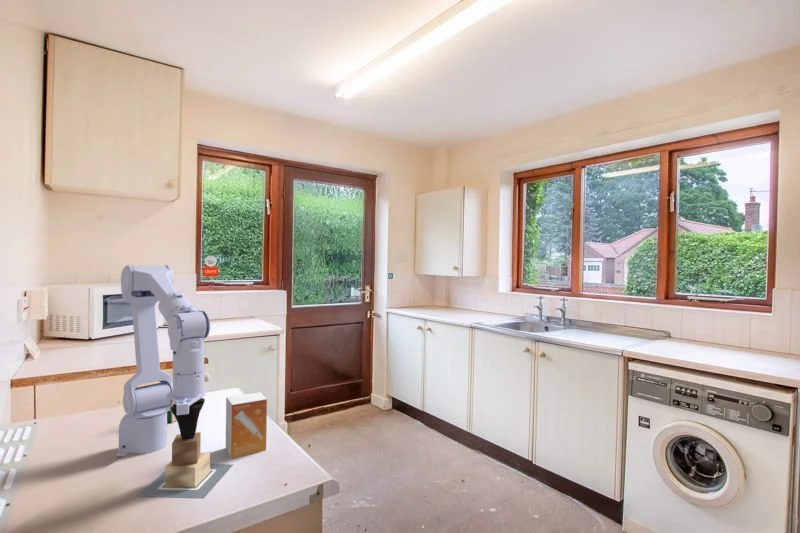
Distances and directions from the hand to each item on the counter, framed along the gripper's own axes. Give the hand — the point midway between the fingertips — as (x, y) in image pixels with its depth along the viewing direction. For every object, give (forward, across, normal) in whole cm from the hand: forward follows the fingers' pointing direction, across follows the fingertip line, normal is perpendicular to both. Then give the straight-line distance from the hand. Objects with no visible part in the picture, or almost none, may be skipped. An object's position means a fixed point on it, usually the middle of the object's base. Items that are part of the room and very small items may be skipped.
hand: (188, 437), depth 85 cm
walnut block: (+4, 0, 0) cm, 4 cm away
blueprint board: (+9, 0, 0) cm, 9 cm away
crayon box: (+10, -40, -9) cm, 42 cm away
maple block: (+8, 0, 0) cm, 8 cm away
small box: (+10, -11, +11) cm, 18 cm away
